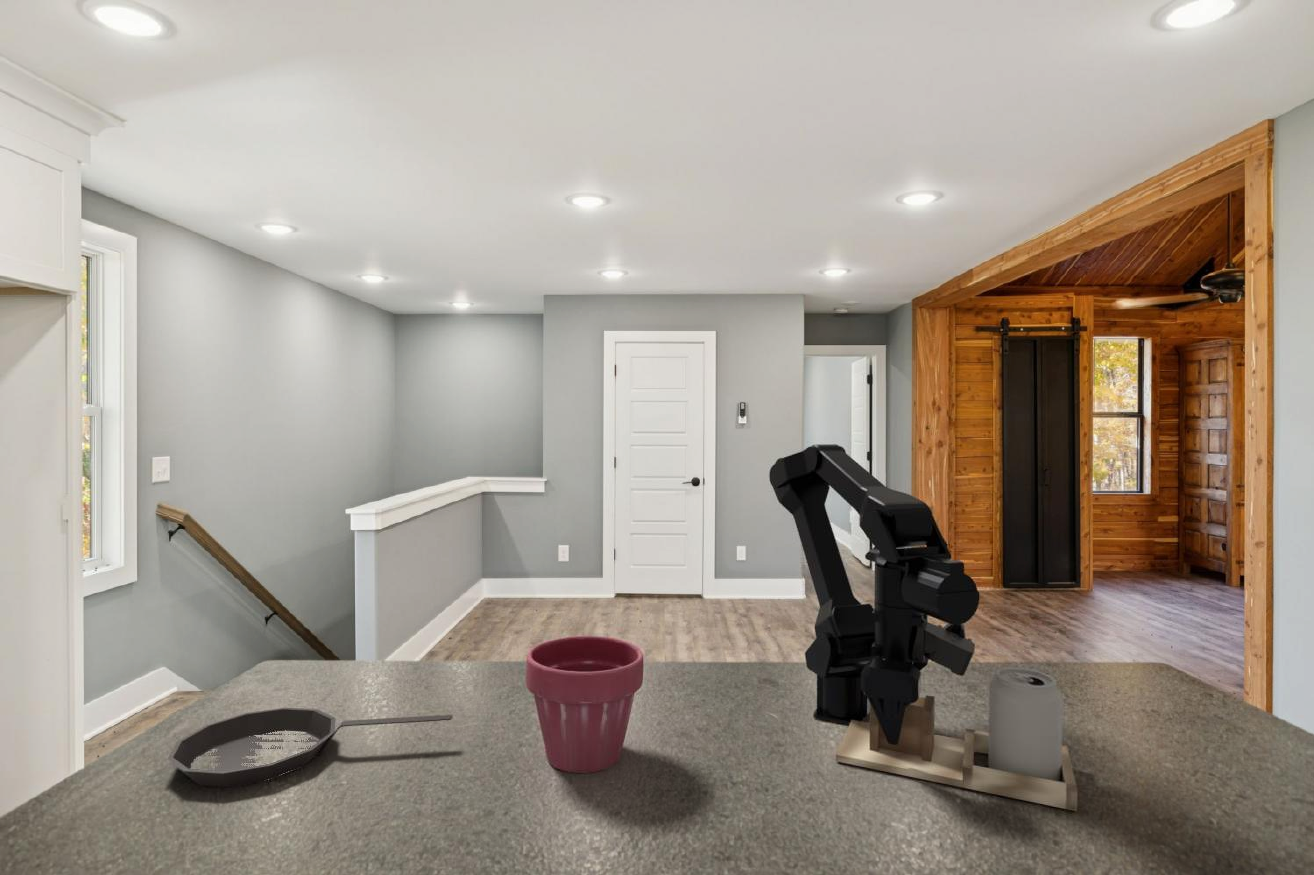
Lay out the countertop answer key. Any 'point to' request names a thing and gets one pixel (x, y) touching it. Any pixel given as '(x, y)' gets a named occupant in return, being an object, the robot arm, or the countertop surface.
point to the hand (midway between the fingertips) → (897, 728)
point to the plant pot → (584, 698)
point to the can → (1025, 723)
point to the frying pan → (237, 743)
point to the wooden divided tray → (948, 758)
